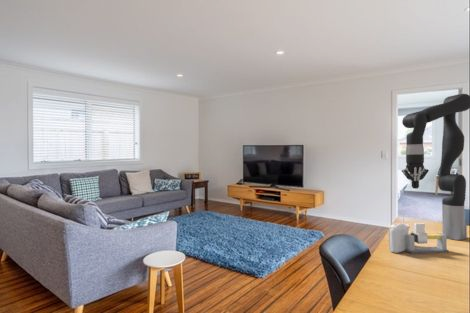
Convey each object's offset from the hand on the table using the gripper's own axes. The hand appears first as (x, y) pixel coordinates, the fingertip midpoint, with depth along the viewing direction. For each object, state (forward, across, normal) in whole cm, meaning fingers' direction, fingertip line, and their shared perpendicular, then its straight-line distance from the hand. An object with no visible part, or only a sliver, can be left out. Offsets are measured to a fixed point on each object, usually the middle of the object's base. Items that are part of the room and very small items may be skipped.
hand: (415, 188), depth 142 cm
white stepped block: (+23, +8, +13) cm, 27 cm away
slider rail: (+27, +5, +13) cm, 30 cm away
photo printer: (+27, +16, +11) cm, 33 cm away
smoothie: (+27, +9, +3) cm, 29 cm away
